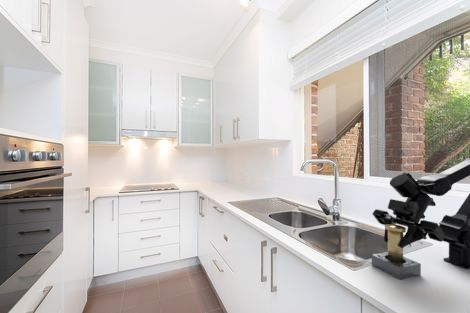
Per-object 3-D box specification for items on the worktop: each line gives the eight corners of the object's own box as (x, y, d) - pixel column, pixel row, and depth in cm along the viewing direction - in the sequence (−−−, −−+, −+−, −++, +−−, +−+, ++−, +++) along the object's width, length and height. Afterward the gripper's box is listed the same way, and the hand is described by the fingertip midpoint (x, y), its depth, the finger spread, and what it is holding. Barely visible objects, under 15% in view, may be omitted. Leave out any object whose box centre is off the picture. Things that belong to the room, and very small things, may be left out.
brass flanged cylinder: (393, 259, 71) (393, 223, 71) (409, 266, 66) (409, 228, 66) (381, 261, 70) (381, 224, 70) (397, 269, 65) (397, 230, 65)
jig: (391, 261, 74) (391, 251, 74) (420, 275, 65) (420, 263, 65) (371, 265, 71) (371, 254, 71) (399, 279, 62) (399, 267, 62)
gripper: (375, 187, 78) (353, 219, 74) (438, 195, 61) (414, 238, 57) (390, 206, 81) (369, 239, 77) (454, 220, 63) (432, 263, 60)
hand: (392, 243), depth 68 cm, fingers closed on brass flanged cylinder, 4 cm apart
